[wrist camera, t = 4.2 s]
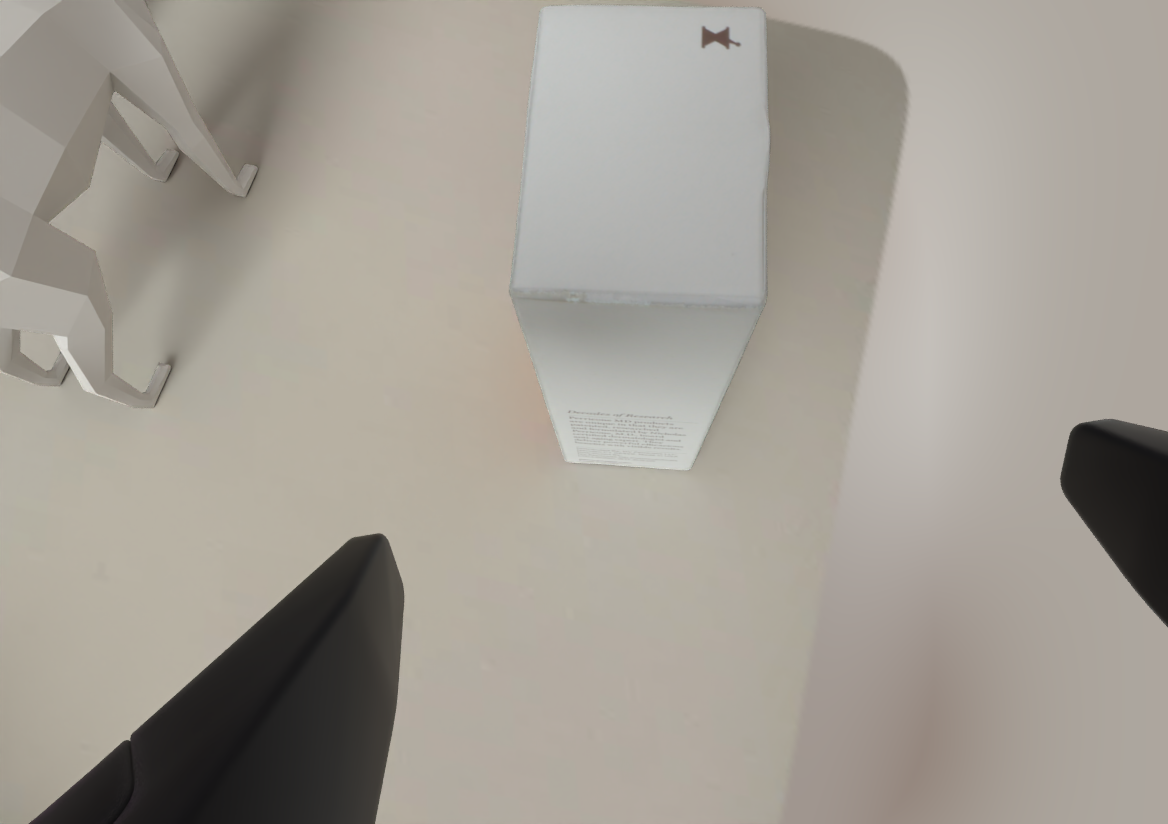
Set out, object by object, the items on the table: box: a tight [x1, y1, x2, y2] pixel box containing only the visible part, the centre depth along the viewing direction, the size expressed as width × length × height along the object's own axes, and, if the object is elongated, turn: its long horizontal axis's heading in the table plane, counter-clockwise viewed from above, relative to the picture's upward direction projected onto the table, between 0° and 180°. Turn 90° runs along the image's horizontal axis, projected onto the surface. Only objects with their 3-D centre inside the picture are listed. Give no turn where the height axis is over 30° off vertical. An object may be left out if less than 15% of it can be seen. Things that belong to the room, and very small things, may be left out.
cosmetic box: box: [509, 5, 770, 470], centre depth 17 cm, size 6×4×12 cm
